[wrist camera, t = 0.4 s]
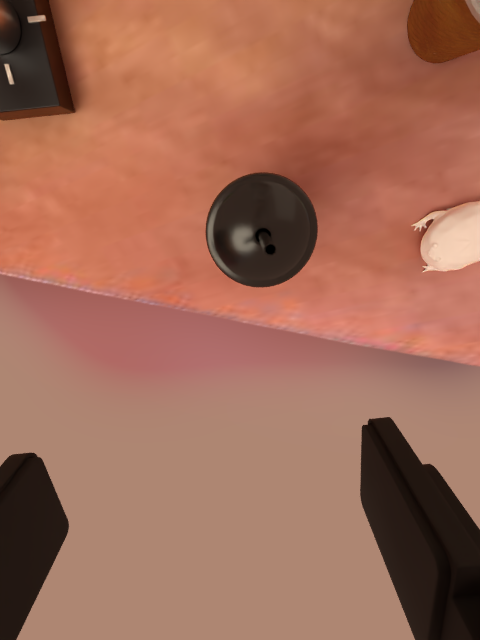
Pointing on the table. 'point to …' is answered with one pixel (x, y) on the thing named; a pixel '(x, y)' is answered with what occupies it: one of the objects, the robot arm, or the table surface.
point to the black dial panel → (34, 67)
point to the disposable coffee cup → (444, 28)
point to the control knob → (8, 27)
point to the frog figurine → (451, 237)
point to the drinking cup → (261, 229)
